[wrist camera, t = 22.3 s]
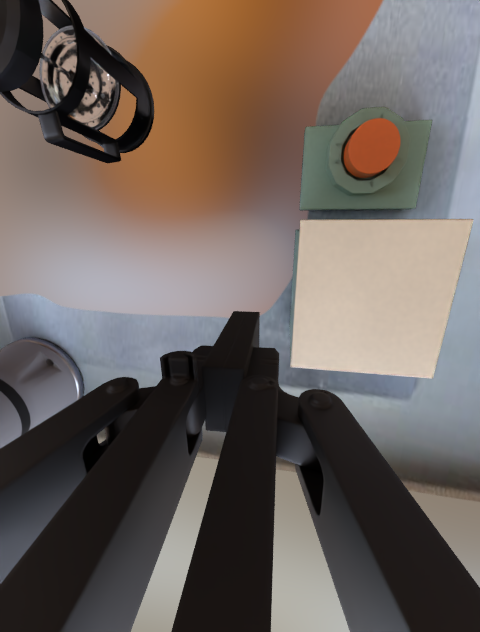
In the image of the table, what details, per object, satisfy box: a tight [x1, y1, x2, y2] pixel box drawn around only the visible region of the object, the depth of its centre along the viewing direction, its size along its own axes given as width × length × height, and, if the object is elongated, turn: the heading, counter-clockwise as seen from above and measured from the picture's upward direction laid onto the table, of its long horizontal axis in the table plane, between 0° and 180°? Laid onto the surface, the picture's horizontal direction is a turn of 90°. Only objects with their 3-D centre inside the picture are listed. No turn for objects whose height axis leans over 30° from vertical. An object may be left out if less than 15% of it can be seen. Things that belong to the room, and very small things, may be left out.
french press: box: [0, 0, 154, 163], centre depth 21 cm, size 12×9×23 cm
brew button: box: [344, 118, 401, 178], centre depth 25 cm, size 4×4×2 cm
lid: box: [291, 219, 473, 378], centre depth 23 cm, size 14×13×1 cm
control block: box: [300, 107, 432, 210], centre depth 28 cm, size 12×9×4 cm
